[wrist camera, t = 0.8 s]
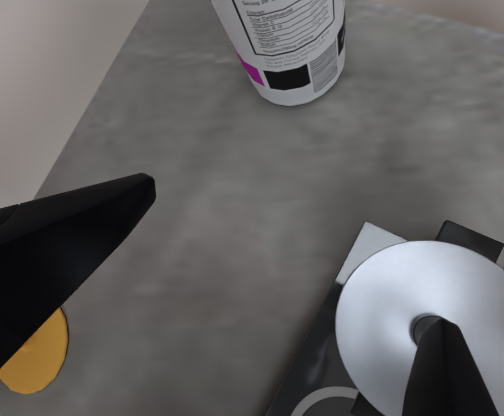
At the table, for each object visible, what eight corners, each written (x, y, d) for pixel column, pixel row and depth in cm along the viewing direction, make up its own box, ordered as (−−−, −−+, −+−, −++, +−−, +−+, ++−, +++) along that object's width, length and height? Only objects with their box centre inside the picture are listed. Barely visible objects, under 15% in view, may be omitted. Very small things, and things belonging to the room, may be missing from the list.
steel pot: (449, 457, 19) (488, 528, 13) (304, 361, 22) (291, 388, 17) (537, 274, 19) (609, 274, 14) (383, 207, 23) (394, 187, 17)
